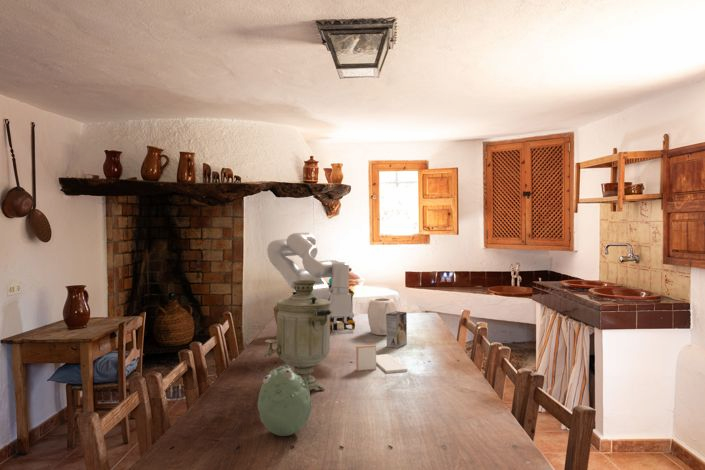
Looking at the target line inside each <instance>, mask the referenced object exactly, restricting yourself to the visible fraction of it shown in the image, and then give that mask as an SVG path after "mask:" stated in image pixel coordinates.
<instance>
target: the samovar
mask: <svg viewBox="0 0 705 470" xmlns="http://www.w3.org/2000/svg"><path fill="white" fill-rule="evenodd" d="M292 282H293V283H294V284H295V289H294V291H293V292H291V293H292V295H291V296H290V297H286V298H281V299H279V300H276V302H275V303H276V305H277V307H278V309H279V312H278V313H277V324H276V339H274V338H268V339H266V340H264V341H265V343H269V346H268V347H269V348H268V350H267V351H265V352H264V354H263V355H262V358H267V356H272V355H273V353H276V355H278V358H279V359H280V360H282V361H283V362H284V363H285V364H286V365H288V366H289V367H293V372H294V373H295V374H296V375H300V377H301V378H302V380H304V379H306V380H307V384H308V388H309V391H312V390H314V389H316V388H317V389H319V390H321V391H322V392H323V391H325V390H326V389H325V387H324V386H321V383H319V381H318V379H316V378H315V377H314V376H313V375H311V373H313V372H314V366H317V365H319V364H320V363H321V362H322V361H324V360H325V359H326V358H327V357H328V355H329V353H330V348H331V347H330V343H331V339H330V338H331V333H330V332H331V327H330V314H331V313H332V312H331V311H330V310H329V307H330V304H331V302H330V301H328V300H326V299H321V298H318V297H317V296H315V295H314V294H312V291H313V285H314V284H315V283H316V281H312V280H296V281H292ZM274 343H276V348H275V349H274V348H273V344H274Z"/></svg>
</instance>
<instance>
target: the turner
mask: <svg viewBox="0 0 705 470" xmlns="http://www.w3.org/2000/svg"><path fill="white" fill-rule="evenodd" d="M336 322H337V330H333V322H332V327H331V328H332V333H333V334H334V335H348V334H350V335H351V334H354V330H351V329H346V330H344V323H343V322H340V321H336Z"/></svg>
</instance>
